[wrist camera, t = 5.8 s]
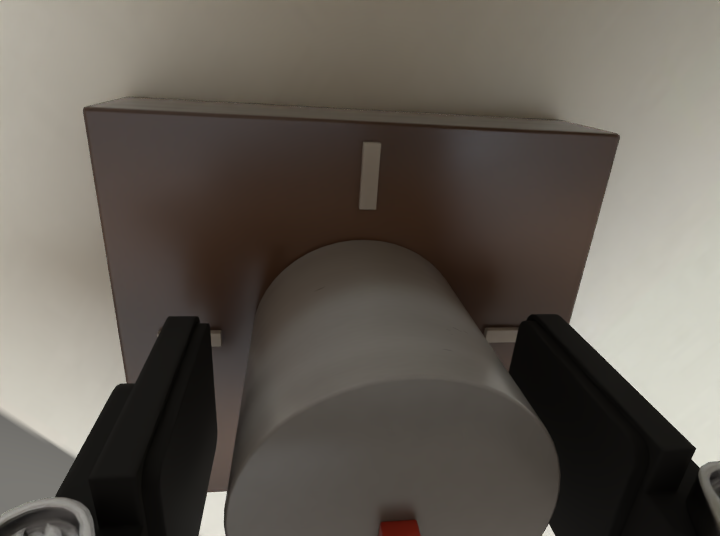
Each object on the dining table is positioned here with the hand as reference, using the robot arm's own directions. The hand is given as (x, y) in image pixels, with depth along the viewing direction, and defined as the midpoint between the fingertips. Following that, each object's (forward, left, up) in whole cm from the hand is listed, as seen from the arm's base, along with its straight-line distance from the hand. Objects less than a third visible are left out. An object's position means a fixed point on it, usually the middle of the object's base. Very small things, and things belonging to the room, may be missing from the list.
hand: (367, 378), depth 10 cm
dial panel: (0, 0, -4) cm, 4 cm away
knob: (0, 0, -2) cm, 2 cm away
